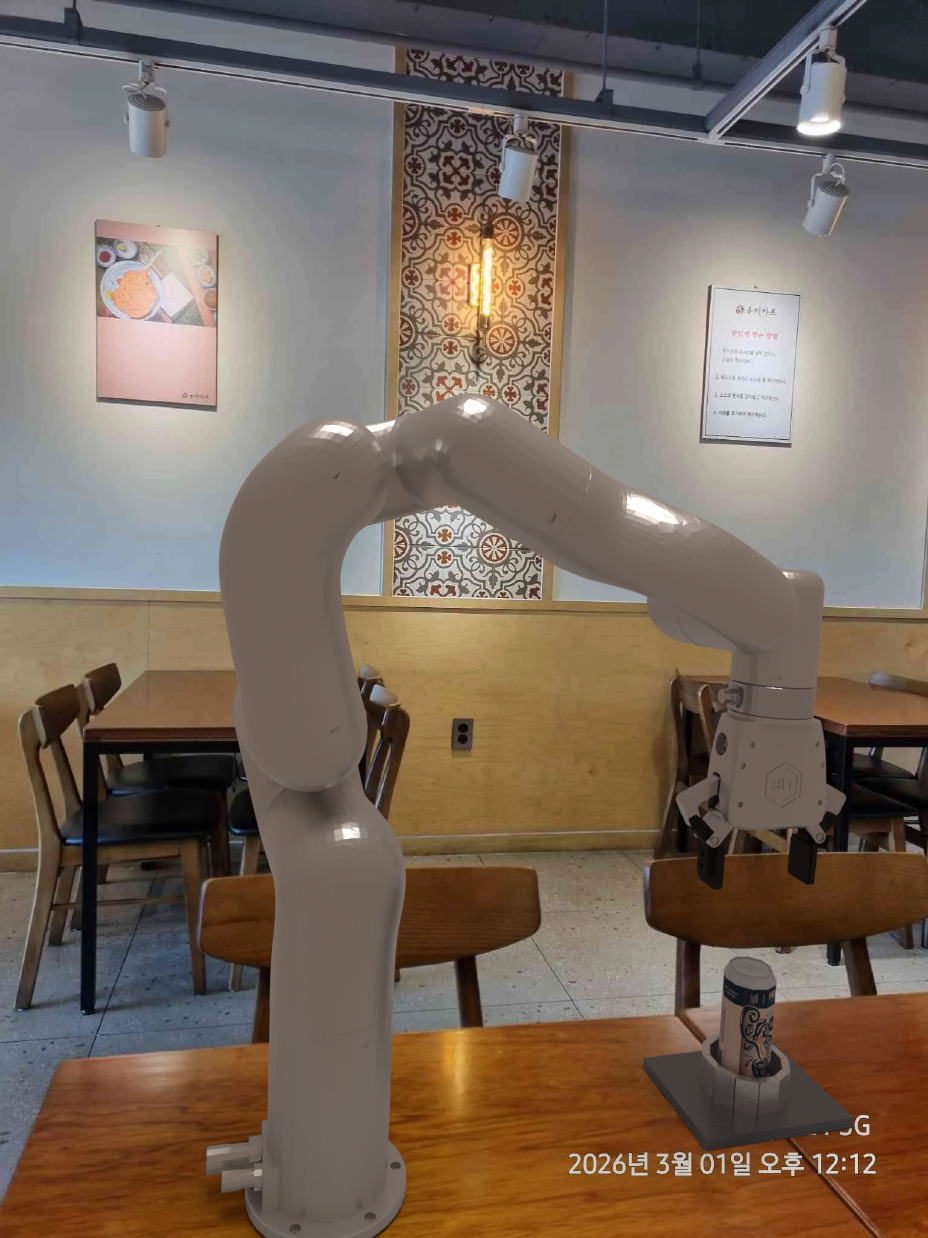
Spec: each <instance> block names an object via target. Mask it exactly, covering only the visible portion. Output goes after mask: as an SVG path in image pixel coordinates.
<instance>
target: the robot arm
mask: <svg viewBox="0 0 928 1238" xmlns="http://www.w3.org/2000/svg"><path fill="white" fill-rule="evenodd" d="M453 505H454V506H457V507H459V508H461V509H463V510H464V511H466V512H468V513H469V514H471V515H473V516H474V517H476V518H477V519H480V520H481V521H482V522H484V523H486V524H488V525H489V526H492V527H493V528H494V529H496V530H497V531H499V532H501V533H502V534H504V535H506V536H507V537H509V538H511V539H513V541H516V542H517V543H518V544H521V545H522V546H523V547H525V548H527V549H528V550H530V551H531V552H532V553H534V554H536V555H537V556H539V557H541V558H543V560H546V561H547V562H548V563H550V564H552V565H553V566H555V567H558V568H560V569H561V570H563V571H566V572H569V573H571V574H574V575H576V576H578V577H581V578H583V579H586V580H588V581H593V582H598V583H601V584H605V585H608V586H612V587H617V588H621V589H624V590H627V591H631V592H633V593H636V594H639V595H641V596H644V597H646V609H647V613H648V616H649V618H650V620H651V622H652V623H653V625H654V626H655V627H656V629H658V630H659V631H660V633H662V634H663V635H665V636H667V637H668V638H670V639H672V640H674V641H677V642H680V643H685V644H688V645H692V646H693V645H694V646H699V647H703V648H710V649H716V650H719V651H726V652H730V653H731V661H730V672H729V680H728V686H727V688H721V689H719V690H718V692H717V700H718V702H719V703H720V704H726V708H727V711H726V712H722V713H721V716H720V717H719V721H718V724H717V727H716V731H715V734H714V737H713V738H714V739H713V743H712V748H711V753H710V758H709V764H708V770H707V777H706V778H705V779H702V780H701V781H699V782H698V783H696V784H694V785H692V786H690V787H688V788H687V789H685V790H683V791H681V792H680V793H678V794H676V797H675V802H676V803H677V806H678V808H679V811H680V814H681V815H682V817H683V818H682V820H683V823H684V824H685V825H686V826H687V827H688V829H689V830H691V832H692V833H693V835H694V837H695V838H697V839H698V845H697V846H698V847H697V858H696V859H697V860H696V861H697V862H696V872H697V877H698V879H699V880H700V881H701V882H703V883H704V884H706V886H708V887H709V888H711V889H712V890H714V891H716V890H717V891H719V890H722V889H723V885H724V875H725V874H724V873H725V861H726V848H725V847H724V846H722V845H721V843H723V841H724V840H725V838H726V837H727V836H728V835H729V833H730V832H731V831H732V830H733V829H734V828H735V829H738V830H743V831H744V830H745V831H757V830H758V831H759V830H761V831H762V830H764V831H765V830H788V829H791V830H792V829H795V830H796V832H792V833H791V834H790V835H791V836H790V838H789V848H788V858H787V859H788V860H787V869H786V870H787V873H788V874H789V875H790V876H791V877H793V878H795V879H797V880H798V881H800V882H801V883H803V884H805V885H807V886H813V885H815V878H816V871H817V862H818V861H817V860H818V852H819V851H818V850H819V844H822V843H823V842H825V840H826V837H827V835H826V833H827V832H828V831H829V830H830V829H831V828H832V827H833V826H834V825H835V824H836V822H837V819H838V818H837V815H839V814H840V812H841V810H842V807H844V804H845V802H846V800H847V797H846V794H844V793H843V792H842V791H840V790H838V789H837V788H835V787H833V786H832V785H830V784H828V783H827V762H826V761H827V760H826V744H825V737H824V736H825V735H824V731H823V726H822V725H823V724H822V721H821V720H820V719H817V718H815V717H814V715H815V707H816V706H815V703H816V693H817V684H818V671H819V659H820V651H821V650H820V648H821V647H820V646H821V636H822V625H823V614H824V603H825V584H824V580H823V579H822V577H821V576H820V575H819V574H818V573H817V572H814V571H809V570H806V569H805V570H804V569H795V568H794V569H791V568H780V567H778V566H777V565H776V564H775V563H773V562H772V561H771V560H770V559H768V558H767V557H766V556H764V555H763V554H761V553H760V552H758V551H757V550H756V549H754V548H753V547H751V546H750V545H748V544H747V543H746V542H744V541H743V540H741V539H740V538H738V537H737V536H735V535H733V534H732V533H730V531H728V530H727V531H726V530H725V529H724V528H722V527H720V526H718V525H716V524H713V523H712V522H710V521H708V520H707V519H704V518H701V517H699V516H697V515H695V514H693V513H692V512H691V513H690V512H688V511H686V510H684V509H681V508H679V507H676V506H674V505H672V504H669V503H667V502H666V501H663V500H661V499H660V498H659V499H658V498H657V497H654V496H652V495H650V494H649V493H646V492H644V491H641V490H639V489H636V488H633V487H631V486H628V485H626V484H625V483H622V482H620V481H618V480H616V479H615V478H613V477H612V476H610V475H608V474H607V473H605V472H604V471H602V470H601V469H600V468H598V467H596V465H593V464H592V463H591V462H589V461H588V460H586V459H584V458H583V457H582V456H580V455H579V454H577V453H576V452H574V451H573V450H571V449H570V448H569V447H566V445H564V444H563V443H561V442H560V441H558V440H557V439H555V438H554V437H553V436H551V435H549V434H548V433H547V432H546V431H544V430H542V429H540V428H539V427H538V426H536V425H535V424H533V422H530V421H529V420H527V419H526V418H525V417H523V416H522V415H520V414H519V413H517V412H516V411H515V410H513V409H511V408H510V407H508V406H507V405H505V404H504V403H502V402H500V401H499V400H497V399H495V398H492V397H490V396H488V395H485V394H480V393H477V392H476V393H472V392H469V393H467V392H466V393H461V394H457V395H454V396H450V397H447V398H445V399H443V400H441V401H438V402H437V403H434V404H432V405H430V406H428V407H426V408H424V409H422V410H419V411H415V412H412V413H409V414H405V415H403V416H402V415H400V416H397V417H393V418H389V419H386V420H385V419H384V420H380V421H377V422H371V423H367V424H362V423H359V422H358V421H355V420H352V419H350V418H344V417H337V416H334V417H333V416H331V417H330V416H329V417H328V416H327V417H323V418H318V419H314V420H311V421H309V422H306V423H304V424H302V425H301V426H299V427H297V428H296V429H295V430H293V431H292V432H290V433H289V434H288V435H286V436H285V437H284V438H283V439H282V440H281V441H279V442H278V443H277V444H275V446H274V447H273V448H271V450H269V452H268V453H267V454H266V455H265V456H264V457H263V458H262V459H261V460H260V461H258V463H257V464H256V465H255V467H254V468H253V469H252V470H251V472H250V473H249V474H248V475H247V477H246V478H245V480H244V481H243V483H242V484H241V486H240V488H239V490H238V492H237V493H236V496H235V498H234V499H233V502H232V504H231V506H230V509H229V512H228V514H227V517H226V520H225V523H224V526H223V531H222V533H221V534H222V535H221V539H220V544H219V551H218V552H219V553H218V580H219V581H218V582H219V589H220V595H221V596H220V598H221V603H222V608H223V614H224V619H225V624H226V630H227V631H226V632H227V635H228V640H229V642H228V643H229V648H230V654H231V657H232V663H233V666H234V668H233V669H234V673H235V676H236V681H237V686H236V687H237V688H236V690H235V694H234V697H233V704H232V714H233V721H234V722H233V723H234V728H235V732H236V736H237V738H236V739H237V741H238V746H239V751H240V755H241V759H242V764H243V768H244V772H245V773H244V774H245V776H246V780H247V781H246V782H247V786H248V788H249V789H248V790H249V794H250V797H251V802H252V807H253V810H254V815H255V819H256V823H257V828H258V832H259V835H260V838H261V843H262V845H263V849H264V853H265V856H266V858H267V861H268V864H269V868H270V872H271V875H272V878H273V882H274V883H273V885H274V893H275V895H274V896H275V899H274V900H275V910H274V911H275V914H274V928H273V929H274V930H273V937H272V947H271V948H272V949H271V958H270V959H271V960H270V961H271V962H270V977H269V978H270V979H269V980H270V982H269V985H270V987H269V1034H268V1035H269V1037H268V1038H269V1040H268V1042H269V1043H268V1044H269V1045H268V1073H267V1074H268V1078H267V1080H268V1081H267V1083H268V1086H267V1117H266V1119H263V1120H262V1121H261V1134H258V1135H252V1136H248V1142H240V1143H223V1144H216V1145H209V1146H206V1164H205V1166H206V1170H205V1175H206V1176H210V1175H211V1176H212V1175H217V1174H221V1187H220V1188H221V1192H220V1193H222V1194H223V1193H231V1192H235V1191H236V1192H237V1191H239V1190H243V1189H245V1192H244V1198H245V1199H244V1201H245V1209H246V1212H247V1214H248V1215H247V1216H248V1217H249V1218H248V1219H249V1220H250V1221H251V1223H252V1224H253V1226H254V1227H255V1228H256V1230H257V1231H259V1233H261V1235H262V1236H264V1237H265V1238H373V1237H374V1236H376V1235H377V1234H378V1233H380V1232H381V1231H382V1230H384V1229H385V1228H386V1227H387V1226H389V1224H390V1223H391V1222H392V1220H394V1219H395V1218H396V1216H397V1215H398V1212H399V1211H400V1209H401V1207H402V1205H403V1203H404V1199H405V1198H406V1191H407V1167H406V1164H405V1161H404V1158H403V1156H402V1155H401V1153H400V1151H399V1150H398V1148H397V1147H396V1146H395V1145H394V1144H393V1142H391V1141H390V1139H389V1135H390V1134H389V1130H390V1108H391V1107H390V1105H391V1080H392V1078H391V1077H392V1056H393V1055H392V1051H393V1028H394V1027H393V1024H394V992H395V991H394V990H395V989H394V988H395V987H394V985H395V971H396V969H395V967H396V965H395V964H396V956H397V955H396V953H397V952H396V951H397V945H398V943H397V942H398V935H399V928H400V924H401V918H402V912H403V907H404V902H405V895H406V885H407V884H406V883H407V882H406V881H407V879H406V878H407V877H406V876H407V873H406V872H407V871H406V865H405V864H406V863H405V858H404V854H403V851H402V847H401V844H400V842H399V839H398V838H397V836H396V834H395V831H394V830H393V827H391V825H390V823H389V822H388V820H386V818H385V817H384V815H383V814H382V813H381V812H380V811H379V810H378V808H377V807H376V806H375V805H374V804H373V803H372V802H371V800H370V799H368V796H366V794H365V791H364V790H365V789H364V788H363V782H362V780H361V775H360V770H359V764H360V762H361V760H362V758H363V756H364V753H365V751H366V746H367V740H368V739H367V738H368V729H369V728H368V720H367V719H368V718H367V712H366V709H365V705H364V701H363V698H362V693H361V689H360V686H359V682H358V678H357V674H356V668H355V664H354V658H353V655H352V649H351V645H350V641H349V638H348V637H349V636H348V631H347V626H346V621H345V620H346V618H345V613H344V612H345V611H344V606H343V600H342V588H341V579H342V578H341V575H342V568H343V562H344V559H345V557H346V553H347V550H348V549H349V547H350V545H351V543H352V541H353V540H354V539H355V537H356V535H358V534H359V532H361V531H362V530H363V529H364V528H366V527H367V526H372V525H378V524H380V523H384V522H389V521H390V522H391V521H392V520H397V519H401V518H405V517H409V516H413V515H416V514H421V513H423V512H427V511H432V510H435V509H439V508H443V507H447V506H448V507H449V506H453ZM703 802H705V807H706V811H707V813H706V814H705V815H704V816H703V817H701V815H700V811H699V810H700V809H699V806H700V804H702V803H703Z"/></svg>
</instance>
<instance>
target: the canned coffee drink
mask: <svg viewBox="0 0 928 1238" xmlns="http://www.w3.org/2000/svg"><path fill="white" fill-rule="evenodd" d="M722 981H723V983H722V996H721V1009H720V1010H721V1011H720V1020H719V1021H720V1023H719V1025H720V1026H719V1034H720V1035H719V1049H718V1064H719V1065H720V1066H721V1067H723V1068H725V1069H727V1070H729V1071H731V1072H733V1073H735V1074H737V1075H742V1076H747V1077H752V1078H764V1077H769V1074H770V1061H771V1048H772V1042H773V1034H774V1033H773V1032H774V1021H775V1020H774V1018H775V1007H776V1004H775V1003H776V996H777V995H776V993H777V992H776V991H777V978H776V976H775V974H774V972H773V969H772V967H771V965H770V964H768V963H766V962H765V961H763V960H762V959H759V958H756V957H751V956H734V957H732V958H730V959H729V960H728V962H727V964H726V965H725V966H724V968H723V980H722Z"/></svg>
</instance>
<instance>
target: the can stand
mask: <svg viewBox="0 0 928 1238" xmlns="http://www.w3.org/2000/svg"><path fill="white" fill-rule="evenodd" d="M719 1035H720V1033H715V1034H712V1035H710V1036H709V1037H707V1038H706V1039H705V1040H704V1041H702V1044H701V1045H702V1046H701V1050H697V1051H689V1052H681V1053H672V1054H664V1055H656V1056H647V1057H643V1058H642V1059H643V1060H642V1069H643V1070H644V1071H645V1073H647V1075H648V1077H650V1079H651V1080H652V1082H653V1083H654V1084H655V1085H656V1088H658V1089H659V1092H661V1093H662V1095H663V1096H664V1097H665V1099H666V1100H667V1102H669V1104H670V1106H671V1107H672V1108H673V1110H674V1111H675V1112H676V1113H677V1115H678V1116H679V1117H680V1119H681V1120H682V1121H683V1122H684V1124H685V1126H686V1127H687V1128H688V1129H689V1131H690V1132H691V1133H692V1134H693V1136H694V1138H695V1139H696V1140H697V1141H698V1143H699V1145H701V1147H702V1149H704V1151H706V1152H707V1151H713V1150H719V1149H724V1148H725V1149H726V1148H733V1147H738V1146H745V1145H750V1144H757V1143H758V1144H759V1143H764V1142H769V1141H770V1142H771V1141H776V1140H783V1139H788V1138H789V1139H790V1138H797V1137H801V1136H802V1137H803V1136H809V1135H816V1134H822V1133H827V1132H829V1133H830V1132H834V1131H841V1130H847V1129H852V1128H853V1123H854V1122H853V1121H854V1117H853V1116H852V1114H850V1113H849V1112H848V1111H847V1110H846V1109H845V1108H844V1107H843V1106H842V1105H840V1103H839V1102H838V1101H836V1100H835V1099H834V1098H833V1097H832V1096H831V1095H830V1094H829V1093H828V1092H827V1091H826V1090H824V1089H825V1088H823V1087H822V1086H820V1085H819V1083H817V1082H816V1081H815V1080H814V1079H813V1078H812V1077H811V1076H810V1075H809V1074H808V1073H807V1072H806V1070H804V1069H803V1068H801V1067H800V1065H798V1063H796V1061H794V1059H792V1058H791V1056H789V1055H788V1054H787V1053H786V1052H785V1051H783V1050H782V1048H781V1047H779V1045H778V1044H777V1043H775V1042H774V1041H772V1048H771V1061H770V1074H769V1077H764V1078H752V1077H747V1076H742V1075H737V1074H735V1073H733V1072H731V1071H729V1070H727V1069H725V1068H723V1067H721V1066H720V1065H719V1064H718V1049H719Z"/></svg>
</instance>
